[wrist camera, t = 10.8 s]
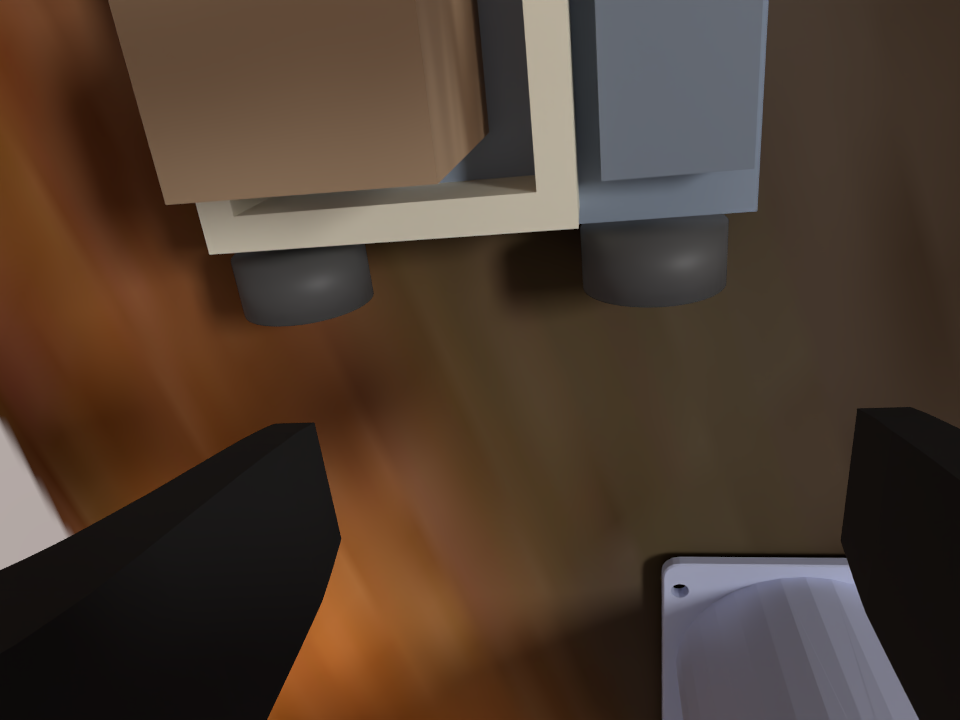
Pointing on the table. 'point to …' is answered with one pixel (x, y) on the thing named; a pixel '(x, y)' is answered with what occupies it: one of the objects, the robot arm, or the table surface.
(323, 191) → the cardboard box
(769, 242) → the table surface
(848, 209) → the table surface
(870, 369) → the table surface
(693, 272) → the toy truck
